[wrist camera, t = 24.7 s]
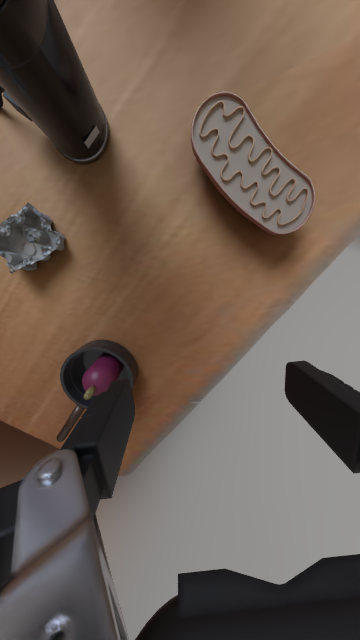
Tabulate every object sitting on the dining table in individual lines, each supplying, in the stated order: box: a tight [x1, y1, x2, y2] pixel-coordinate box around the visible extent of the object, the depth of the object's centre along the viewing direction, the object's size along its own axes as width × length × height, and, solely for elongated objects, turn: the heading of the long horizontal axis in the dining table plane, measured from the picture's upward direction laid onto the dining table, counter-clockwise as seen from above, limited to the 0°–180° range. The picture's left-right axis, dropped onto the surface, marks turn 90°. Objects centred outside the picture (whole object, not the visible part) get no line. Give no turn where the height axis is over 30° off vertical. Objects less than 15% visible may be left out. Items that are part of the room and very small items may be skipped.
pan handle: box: [57, 405, 85, 442], centre depth 39 cm, size 12×2×2 cm, turn 146°
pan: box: [60, 340, 137, 409], centre depth 37 cm, size 14×14×4 cm
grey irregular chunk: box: [0, 203, 65, 273], centre depth 31 cm, size 11×8×4 cm
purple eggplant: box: [82, 354, 123, 400], centre depth 33 cm, size 6×6×11 cm
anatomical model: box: [191, 91, 315, 235], centre depth 29 cm, size 23×10×5 cm, turn 50°
